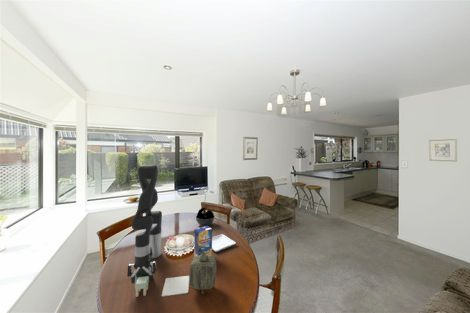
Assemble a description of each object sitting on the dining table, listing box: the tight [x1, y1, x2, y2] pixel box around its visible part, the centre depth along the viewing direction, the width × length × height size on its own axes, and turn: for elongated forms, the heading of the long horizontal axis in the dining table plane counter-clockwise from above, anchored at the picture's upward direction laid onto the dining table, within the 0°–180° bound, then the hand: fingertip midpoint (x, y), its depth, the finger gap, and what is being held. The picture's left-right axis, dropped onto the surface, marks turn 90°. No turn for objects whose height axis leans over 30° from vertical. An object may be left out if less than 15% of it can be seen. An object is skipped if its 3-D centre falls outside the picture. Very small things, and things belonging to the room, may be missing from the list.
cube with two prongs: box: [134, 276, 150, 298], centre depth 99 cm, size 5×5×7 cm
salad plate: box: [212, 233, 236, 253], centre depth 153 cm, size 21×21×3 cm
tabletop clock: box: [188, 247, 218, 295], centre depth 101 cm, size 14×9×25 cm, turn 92°
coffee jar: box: [135, 247, 153, 283], centre depth 110 cm, size 10×8×19 cm
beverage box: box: [193, 225, 213, 258], centre depth 132 cm, size 7×11×22 cm, turn 129°
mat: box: [161, 275, 190, 298], centre depth 105 cm, size 14×14×1 cm
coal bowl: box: [195, 207, 216, 227], centre depth 194 cm, size 20×20×19 cm
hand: (142, 281), depth 99 cm, fingers open, 8 cm apart
